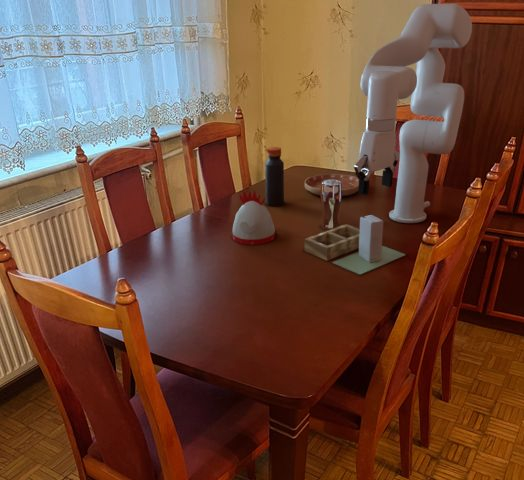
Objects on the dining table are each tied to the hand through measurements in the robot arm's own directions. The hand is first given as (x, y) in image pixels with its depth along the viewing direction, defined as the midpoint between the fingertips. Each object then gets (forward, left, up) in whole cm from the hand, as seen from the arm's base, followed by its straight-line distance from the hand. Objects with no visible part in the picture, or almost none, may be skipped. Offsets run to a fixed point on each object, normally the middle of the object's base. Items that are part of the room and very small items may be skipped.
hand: (375, 189), depth 150 cm
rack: (+2, -12, -20) cm, 23 cm away
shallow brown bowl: (-38, -53, -20) cm, 68 cm away
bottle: (-11, -57, -20) cm, 61 cm away
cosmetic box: (+1, +1, -20) cm, 20 cm away
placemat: (+1, +1, -20) cm, 20 cm away
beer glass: (-9, -26, -20) cm, 34 cm away
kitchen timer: (+15, -37, -20) cm, 44 cm away
